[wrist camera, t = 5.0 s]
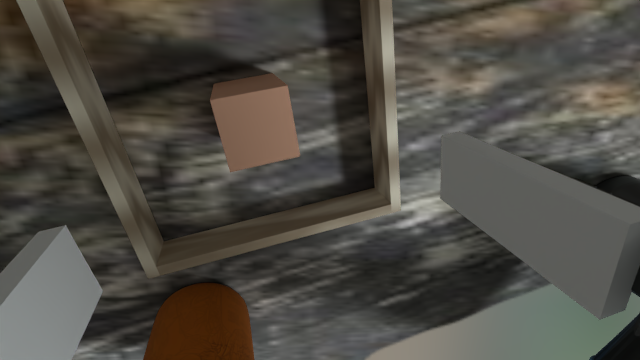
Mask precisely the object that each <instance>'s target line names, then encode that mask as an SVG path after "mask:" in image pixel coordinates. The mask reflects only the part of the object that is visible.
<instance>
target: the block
mask: <svg viewBox="0 0 640 360" xmlns="http://www.w3.org/2000/svg"><path fill="white" fill-rule="evenodd" d="M210 102H211V106H212V109H213V113H214V116H215V120H216V123H217V127H218V130H219V134H220V138H221V141H222V145H223V148H224V152H225V155H226V159H227V162H228V166H229V169H230V172H233V171H238V170H242V169H246V168H251V167H255V166H260V165H264V164H268V163H273V162H277V161H281V160H286V159H290V158H295V157H299V156H300V152H299V146H298V141H297V135H296V130H295V124H294V119H293V113H292V108H291V102H290V96H289V91H288V85H286V84H285V83H284V82H283V81H281V80H280V79H279V78H278V77H277V76H275V75H274V74H273V73H270V74H264V75H259V76H253V77H248V78H242V79H237V80H231V81H226V82H220V83H215V84H214V85H213V89H212V94H211V98H210Z"/></svg>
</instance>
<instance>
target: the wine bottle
mask: <svg viewBox="0 0 640 360" xmlns="http://www.w3.org/2000/svg"><path fill="white" fill-rule="evenodd" d="M143 360H254V353H253V344H252V335H251V327H250V320H249V313H248V309H247V306H246V304H245V301H244V300H243V298H242V297H241V296H240V295H239V294H238V293H237V292H236V291H234V290H233V289H231V288H229V287H227V286H225V285H221V284H217V283H198V284H193V285H190V286H187V287H184V288H182V289H180V290H178V291H177V292H175V293H174V294H172V295H171V296H170V297H168V299H167V300H166V301H165V302H164V303H163V304H162V306H161V307H160V309H159V311H158V313H157V316H156V318H155V321H154V324H153V328H152V331H151V334H150V338H149V341H148V345H147V348H146V352H145V355H144V359H143Z"/></svg>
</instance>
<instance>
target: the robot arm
mask: <svg viewBox="0 0 640 360" xmlns="http://www.w3.org/2000/svg"><path fill="white" fill-rule="evenodd" d="M440 198H441V199H442V200H443V201H444V202H446V203H447V204H448V205H450V206H451V207H452V208H454V209H455V210H456V211H458V212H459V213H460V214H462V215H463V216H464V217H465V218H467V219H468V220H469V221H471V222H472V223H473V224H475V225H476V226H477V227H479V228H480V229H481V230H483V231H484V232H485V233H486V234H488V235H489V236H490V237H492V238H493V239H494V240H496V241H497V242H498V243H500V244H501V245H502V246H504V247H505V248H506V249H507V250H509V251H510V252H511V253H513V254H514V255H515V256H517V257H518V258H519V259H521V260H522V261H523V262H525V263H526V264H527V265H529V266H530V267H531V268H532V269H534V270H535V271H536V272H538V273H539V274H540V275H542V276H543V277H544V278H546V279H547V280H548V281H550V282H551V283H552V284H553V285H555V286H556V287H558V288H559V289H560V290H561V291H563V292H564V293H565V294H567V295H568V296H569V297H571V298H572V299H573V300H574V301H576V302H577V303H578V304H580V305H581V306H583V307H584V308H585V309H586V310H588V311H589V312H590V313H592V314H593V315H594V316H596V317H597V318H598V319H603V318H605V317H608V316H611V315H613V314H616V313H618V312H621V311H623V310H625V308H626V306H627V303H628V300H629V297H630V295H631V292H633V293H634V294H636V295H638V296H639V297H640V179H637V178H634V177H631V176H618V177H614V178H611V179H608V180H606V181H604V182H602V183H600V184H599V185H597V186H594V185H591V184H589V183H586V182H584V181H581V180H579V179H575V178H571V177H567V176H565V175H562V174H560V173H558V172H555V171H553V170H550V169H548V168H546V167H543V166H541V165H538V164H536V163H534V162H531V161H529V160H526V159H524V158H522V157H519V156H517V155H514V154H512V153H510V152H507V151H505V150H503V149H500V148H498V147H495V146H493V145H491V144H488V143H486V142H483V141H481V140H479V139H476V138H474V137H471V136H469V135H467V134H464V133H462V132H460V131H459V132H455V133H451V134H447V135H442V143H441V190H440ZM102 292H103V290H102V288H101V287H100V285H99V283H98V281H97V279H96V278H95V276H94V274H93V272H92V271H91V269H90V267H89V265H88V264H87V262H86V260H85V258H84V257H83V255H82V253H81V251H80V250H79V248H78V246H77V244H76V242H75V241H74V239H73V237H72V235H71V234H70V232H69V230H68V228H67V227H66V225H64V226H60V227H56V228H52V229H47V230H43V231H39V232H38V233H37V234H36V235H35V236H34V237H33V238H32V239H31V240H30V241H29V242H28V244H27V245H26V246H25V247H24V248H23V249H22V250H21V251H20V252H19V253H18V254H17V256H16V257H15V258H14V259H13V260H12V261H11V262H10V263H9V264H8V265H7V266H6V267H5V269H4V270H3V271H2V272H1V273H0V360H72V358H73V356H74V353H75V351H76V349H77V347H78V345H79V342H80V340H81V338H82V336H83V334H84V332H85V329H86V327H87V325H88V323H89V321H90V319H91V316H92V314H93V312H94V310H95V308H96V305H97V303H98V301H99V299H100V297H101V295H102ZM589 360H640V313H639V314H638V315H637V317H635V318H634V320H632V321H631V322H630V323H629V324H628V325H627V326H626V327H625V328H624V329H623V330H622V331H621V332H620V333H619V334H618V335H616V337H614V338H613V339H612V340H611V341H610V342H609V343H608V344H607V345H606V346H605V347H603V348H602V349H601V350H600V351H599V352H598V353H597V354H596V355H594V356H591V357H590V359H589Z"/></svg>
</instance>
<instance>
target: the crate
mask: <svg viewBox="0 0 640 360" xmlns="http://www.w3.org/2000/svg"><path fill="white" fill-rule="evenodd" d="M16 1H17V3H18V5H19V7H20V9H21V11H22V13H23V15H24V17H25V20H26V22H27V24H28V26H29V28H30V30H31V32H32V34H33V37H34V39H35V41H36V43H37V45H38V47H39V49H40V51H41V53H42V56H43V58H44V60H45V62H46V64H47V66H48V68H49V70H50V72H51V75H52V77H53V79H54V81H55V83H56V85H57V87H58V89H59V91H60V94H61V96H62V98H63V100H64V102H65V104H66V106H67V108H68V111H69V113H70V115H71V117H72V119H73V121H74V123H75V125H76V127H77V130H78V132H79V134H80V136H81V138H82V140H83V142H84V144H85V146H86V149H87V151H88V153H89V155H90V157H91V159H92V161H93V163H94V166H95V168H96V170H97V172H98V174H99V176H100V178H101V180H102V182H103V185H104V187H105V189H106V191H107V193H108V195H109V197H110V199H111V201H112V204H113V206H114V208H115V210H116V212H117V214H118V216H119V218H120V220H121V223H122V225H123V227H124V229H125V231H126V233H127V235H128V237H129V240H130V242H131V244H132V246H133V248H134V250H135V252H136V254H137V256H138V259H139V261H140V263H141V265H142V267H143V269H144V271H145V273H146V275H147V278H148V279H150V278H154V277H158V276H161V275H165V274H169V273H172V272H176V271H180V270H184V269H187V268H191V267H195V266H198V265H202V264H206V263H209V262H213V261H217V260H220V259H224V258H228V257H232V256H235V255H239V254H243V253H246V252H250V251H254V250H257V249H261V248H265V247H268V246H272V245H276V244H280V243H283V242H287V241H291V240H294V239H298V238H302V237H305V236H309V235H313V234H316V233H320V232H324V231H328V230H331V229H335V228H339V227H342V226H346V225H350V224H353V223H357V222H361V221H364V220H368V219H372V218H375V217H379V216H383V215H387V214H390V213H394V212H398V211H401V202H400V179H399V155H398V132H397V109H396V86H395V62H394V39H393V16H392V0H360V8H361V21H362V33H363V46H364V58H365V71H366V83H367V96H368V109H369V121H370V134H371V146H372V159H373V171H374V184H375V188H372V189H368V190H364V191H360V192H356V193H352V194H348V195H344V196H340V197H336V198H332V199H328V200H325V201H321V202H317V203H313V204H309V205H305V206H301V207H297V208H293V209H289V210H285V211H281V212H277V213H273V214H270V215H266V216H262V217H258V218H254V219H250V220H246V221H242V222H238V223H234V224H230V225H226V226H222V227H218V228H214V229H211V230H207V231H203V232H199V233H195V234H191V235H187V236H183V237H179V238H175V239H171V240H167V241H163V238H162V236H161V234H160V231H159V229H158V227H157V224H156V222H155V219H154V217H153V215H152V212H151V210H150V207H149V205H148V203H147V200H146V198H145V196H144V193H143V191H142V188H141V186H140V184H139V181H138V179H137V177H136V174H135V172H134V169H133V167H132V165H131V162H130V160H129V157H128V155H127V153H126V150H125V148H124V146H123V143H122V141H121V138H120V136H119V134H118V131H117V129H116V127H115V124H114V122H113V119H112V117H111V115H110V112H109V110H108V107H107V105H106V103H105V100H104V98H103V96H102V93H101V91H100V88H99V86H98V84H97V81H96V79H95V77H94V74H93V72H92V69H91V67H90V65H89V62H88V60H87V58H86V55H85V53H84V50H83V48H82V46H81V43H80V41H79V38H78V36H77V34H76V31H75V29H74V27H73V24H72V22H71V19H70V17H69V15H68V12H67V10H66V8H65V5H64V3H63V0H16Z"/></svg>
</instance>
